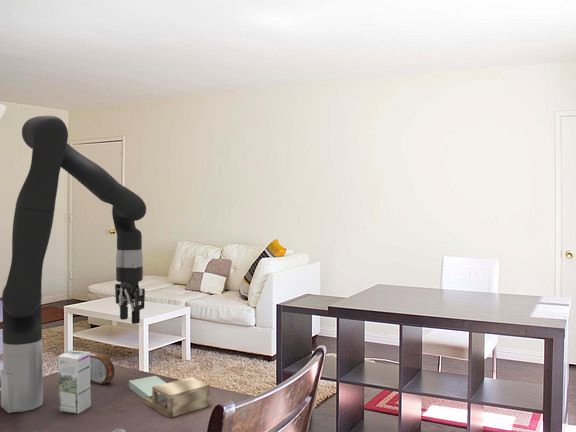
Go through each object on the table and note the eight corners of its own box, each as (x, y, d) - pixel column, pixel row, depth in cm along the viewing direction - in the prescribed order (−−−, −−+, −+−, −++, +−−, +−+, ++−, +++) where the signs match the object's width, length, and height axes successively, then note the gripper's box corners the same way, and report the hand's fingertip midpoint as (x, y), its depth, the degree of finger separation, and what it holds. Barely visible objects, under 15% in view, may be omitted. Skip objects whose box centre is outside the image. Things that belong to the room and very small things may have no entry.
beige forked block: (169, 417, 142) (169, 395, 142) (142, 403, 152) (142, 382, 152) (209, 405, 151) (209, 384, 150) (181, 392, 160) (181, 372, 160)
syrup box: (91, 406, 150) (91, 351, 149) (77, 414, 144) (76, 357, 144) (72, 404, 151) (72, 349, 151) (57, 412, 146) (57, 355, 145)
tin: (115, 384, 167) (115, 355, 167) (106, 387, 164) (106, 358, 164) (81, 375, 175) (81, 347, 175) (72, 378, 172) (72, 350, 172)
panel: (149, 405, 152) (149, 396, 152) (128, 389, 164) (128, 380, 164) (177, 399, 157) (177, 390, 157) (155, 384, 169) (155, 375, 169)
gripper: (106, 263, 171) (106, 319, 172) (129, 268, 161) (129, 327, 161) (129, 261, 176) (129, 315, 177) (153, 266, 166) (153, 323, 167)
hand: (129, 321), depth 169 cm, fingers open, 6 cm apart
